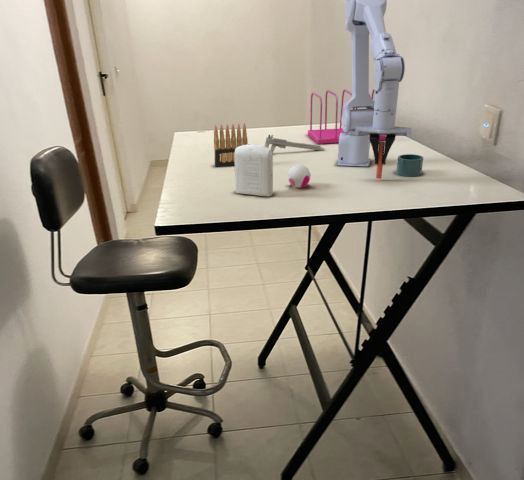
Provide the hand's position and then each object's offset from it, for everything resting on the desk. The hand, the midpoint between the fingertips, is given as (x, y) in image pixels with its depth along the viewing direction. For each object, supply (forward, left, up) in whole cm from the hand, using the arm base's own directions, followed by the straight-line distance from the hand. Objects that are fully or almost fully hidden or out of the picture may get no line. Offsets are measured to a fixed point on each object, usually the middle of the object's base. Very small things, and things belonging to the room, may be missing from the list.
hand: (379, 163), depth 144 cm
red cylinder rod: (0, 0, -4) cm, 4 cm away
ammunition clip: (-46, +10, -5) cm, 47 cm away
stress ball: (-20, -10, -5) cm, 23 cm away
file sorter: (-16, +55, -5) cm, 57 cm away
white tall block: (-31, -18, -5) cm, 36 cm away
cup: (+8, +9, -5) cm, 13 cm away
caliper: (-30, +30, -5) cm, 43 cm away
